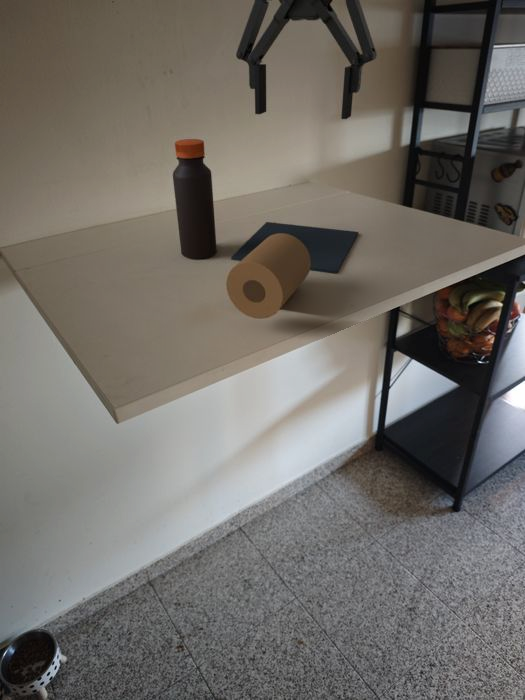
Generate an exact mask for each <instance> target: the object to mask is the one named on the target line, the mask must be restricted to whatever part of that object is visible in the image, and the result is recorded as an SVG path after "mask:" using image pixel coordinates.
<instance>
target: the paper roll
mask: <svg viewBox="0 0 525 700" xmlns="http://www.w3.org/2000/svg"><path fill="white" fill-rule="evenodd" d="M310 266H311V260H310V255H309V253H308V250H307V248H306V247H305V246H304V244H303V243H302V242H301V241H300V240H299V239H297V238H296V237H294V236H292V235H289V234H284V233H278V234H274V235H271V236H269V237H268V238H267V239H265V240H264V241H263V242H262V243H261V244H260V245H259V246H257V247H256V248H255V249H254V250H253V251H252V252H250V253H249V254H248V255H247V256H246V257H245V258H244V259H242V260H241V261H239V262H237V263H236V264H235V265H234V266H233V267H232V268H231V269H230V270H229V272H228V274H227V277H226V281H225V283H226V284H225V285H226V292H227V295H228V298H229V300H230V302H231V303H232V305H233V306H234V307H235V308H236V309H237V310H238V311H240V312H241V313H242V314H244V315H245V316H247V317H250V318H252V319H258V320H262V319H263V320H264V319H268V318H271V317H273V316H274V315H276V314H277V313H278V312H279V311H280V309H282V308H283V306H284V305H285V303H286V302H287V301H288V300H289V299H290V297H291V296H292V295H293V294H294V293H295V292H296V290H297V289H298V288H299V287H300V285H301V284H302V283H303V282H304V281H305V280H306V278H307V277H308V276H309V273H310V271H311V270H310Z"/></svg>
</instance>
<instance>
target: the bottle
mask: <svg viewBox="0 0 525 700" xmlns="http://www.w3.org/2000/svg"><path fill="white" fill-rule="evenodd" d="M174 150H175V157H176V160H177V161H178V165H176V167H175V169H174V170H173V171H172V180H173V181H172V182H173V190H174V199H175V200H174V201H175V208H176V210H175V211H176V216H177V217H176V218H177V226H178V227H177V228H178V236H179V245H180V253H181V255H182V256H183V257H185V258H187V259H191V260H204V259H209V258H211V257H213V256H214V255H216V253H217V251H218V249H217V236H216V222H215V221H216V220H215V205H214V192H213V191H214V189H213V178H212V177H213V176H212V170H211V169H210V168H209V166H207V165H206V164H205V163H204V159H205V155H206V154H205V141H204V140H203V139H198V138H185V139H184V138H183V139H179V140H176V141H175V142H174Z"/></svg>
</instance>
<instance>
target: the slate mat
mask: <svg viewBox="0 0 525 700" xmlns="http://www.w3.org/2000/svg"><path fill="white" fill-rule="evenodd" d="M278 233H284V234H289V235H292V236H294V237H296V238H297V239H299V240H300V241H301V242H302V243H303V244H304V246H305V247H306V248H307V250H308V253H309V255H310V260H311V266H310V271H315V272H321V273H329V274H336V275H337V274H338V273H339V271H340V269H341V267H342V265H343V263H344V261H345V260H346V258H347V256H348V254H349V252H350V250H351V249H352V246H353V245H354V243H355V241H356V239H357V238H358V236H359V231H353V230H345V229H335V228H326V227H318V226H317V227H316V226H307V225H297V224H291V223H290V224H288V223H280V222H271V221H266V222H265V223H264V224H263V225H262V226H261V227H260V228H258V230H256V232H254V234H253V235H252V236H250V238H249V239H247V241H245V242H244V243H243V245H241V246H240V247H239V249H238V250H237V251H235V252H234V253H233V254H232V255H231V257H230V260H233V261H239V262H240V261H241V260H242V259H244V258H245V257H246V256H247V255H248V254H249V253H250V252H252V251H253V250H254V249H255V248H256V247H257V246H259V245H260V244H261V243H262V242H263V241H264V240H265V239H267V238H268V237H269V236H271V235H274V234H278Z"/></svg>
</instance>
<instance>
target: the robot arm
mask: <svg viewBox="0 0 525 700" xmlns="http://www.w3.org/2000/svg"><path fill="white" fill-rule="evenodd" d="M272 1H273V0H254V2H253V5H252V8H251V10H250V13H249V16H248V19H247V22H246V24H245V27H244V30H243V33H242V36H241V38H240V42H239V45H238V47H237V50H236V52H235V53H236V54H235V57H236V58H237V59H238V60H241V61H243V62H246V63H247V65H248V85H249V89H251V90H254V114H255V115H262V114H264V113H267V64H266V63H263V59H264V58H265V56H266V55H267V53H268V51H269V50H270V49H271V47H272V45H273V44H274V43H275V41H276V40H277V38H278V37H279V35H280V34H281V33H282V31H283V29H284V28H285V26H286V25H287V24H288V23H289V22H291V21H292V22H293V21H295V22H296V21H297V22H298V21H299V22H300V21H304V20H305V21H319V20H321V21H322V23H323V24H324V25H325V26H326V28H327V29H328V31H329V32H330V34H331V36H332V37H333V39H334V40H335V42H336V44H337V45H338V46H339V48H340V50H341V51H342V53H343V54H344V56H345V57H346V60H347V61H348V62H349V64H350V65H348V66H345V67H344V75H343V89H342V102H341V116H340V118H341V120H347V119H349V118H351V117H352V109H353V97H354V94H357V93H359V92H360V89H361V83H362V73H363V71H362V70H363V67H364V66H365V64H367V63H370V62H373V61H374V60H376V58H377V56H378V55H377V54H378V53H377V51H376V48H375V44H374V42H373V41H374V40H373V38H372V35H371V32H370V29H369V25H368V23H367V20H366V17H365V14H364V10H363V8H362V5H361V1H360V0H345V5H346V8H347V11H348V15H349V18H350V21H351V24H352V26H353V29H354V33H355V35H356V39H357V41H358V44H359V47H360V50H361V52H360V51H359V49H358V48H357V46H356V45H355V43H354V42H353V40H352V38H351V37H350V35H349V33H348V31H347V30H346V29H345V27H344V26H343V24H342V23H341V20H340V19H339V18H338V14H337V12H336V11H335V9H334V8H333V6H332V5H331V4H332V2H333V0H278V2H279V4H280V5H279V7H278V8H277V10H276V12H275V13H274V15H273V18H272V19H271V21H270V23H269V24H268V26H267V27H266V29H265V31H264V32H263V33H262V35H261V36H260V38H259V40H258V41H257V42H256V40H257V39H258V35H259V32H260V30H261V27H262V24H263V22H264V19H265V16H266V14H267V11H268V9H269V4H270V2H272ZM290 20H291V21H290ZM255 43H256V44H255Z"/></svg>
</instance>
